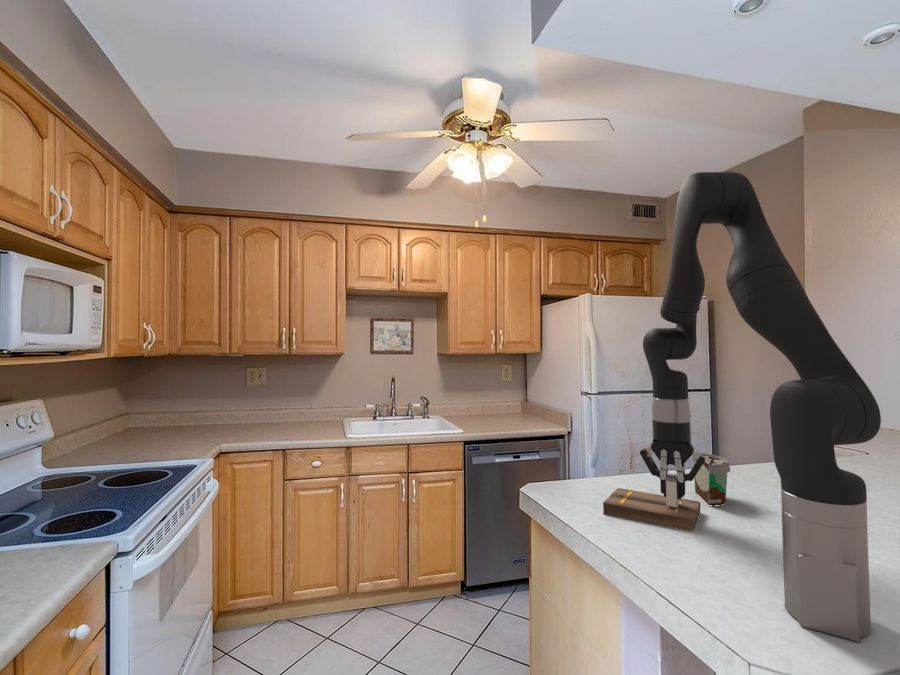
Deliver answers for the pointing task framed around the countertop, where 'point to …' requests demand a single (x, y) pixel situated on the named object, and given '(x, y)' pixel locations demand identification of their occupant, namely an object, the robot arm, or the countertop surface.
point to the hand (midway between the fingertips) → (673, 496)
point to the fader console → (652, 509)
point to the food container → (712, 480)
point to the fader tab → (672, 490)
